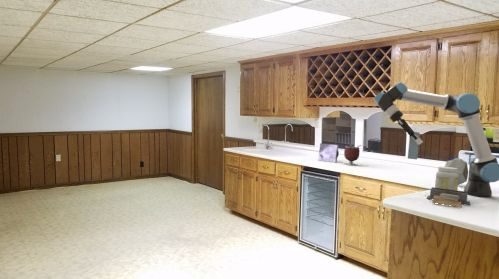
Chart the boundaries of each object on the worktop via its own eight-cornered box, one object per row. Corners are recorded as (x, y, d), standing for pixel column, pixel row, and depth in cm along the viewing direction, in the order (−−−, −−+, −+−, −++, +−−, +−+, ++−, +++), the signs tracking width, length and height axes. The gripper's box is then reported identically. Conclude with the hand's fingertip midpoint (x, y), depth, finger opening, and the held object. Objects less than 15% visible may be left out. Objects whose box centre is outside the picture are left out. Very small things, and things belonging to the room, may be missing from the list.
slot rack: (428, 196, 222) (429, 186, 222) (469, 203, 211) (470, 192, 211) (426, 198, 216) (427, 188, 215) (469, 205, 205) (470, 194, 205)
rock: (440, 181, 287) (442, 155, 286) (448, 182, 287) (450, 155, 286) (460, 188, 261) (463, 159, 259) (469, 189, 261) (472, 159, 260)
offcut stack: (433, 201, 210) (434, 191, 209) (460, 205, 203) (461, 195, 203) (432, 203, 203) (432, 193, 203) (460, 207, 197) (461, 197, 196)
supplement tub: (449, 194, 237) (452, 166, 236) (461, 198, 224) (464, 169, 223) (430, 192, 236) (432, 165, 235) (440, 197, 224) (443, 168, 223)
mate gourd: (342, 165, 358) (344, 143, 357) (343, 163, 371) (345, 143, 370) (359, 166, 353) (361, 145, 352) (360, 165, 367) (362, 144, 365)
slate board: (408, 158, 231) (410, 131, 230) (417, 159, 229) (419, 132, 228) (407, 158, 229) (410, 131, 228) (416, 159, 226) (419, 132, 225)
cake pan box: (338, 162, 378) (339, 144, 376) (336, 163, 373) (337, 145, 372) (319, 160, 388) (321, 143, 387) (318, 160, 383) (319, 143, 382)
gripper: (391, 118, 242) (417, 146, 235) (386, 117, 228) (414, 147, 221) (401, 110, 239) (427, 139, 232) (396, 109, 225) (424, 139, 218)
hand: (421, 143), depth 226 cm, fingers closed on slate board, 3 cm apart
